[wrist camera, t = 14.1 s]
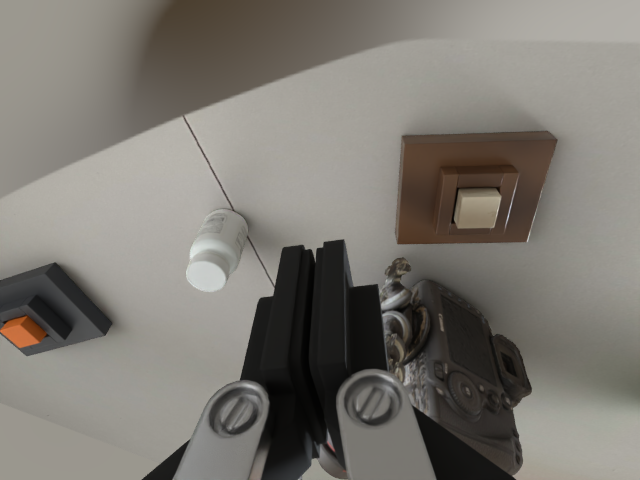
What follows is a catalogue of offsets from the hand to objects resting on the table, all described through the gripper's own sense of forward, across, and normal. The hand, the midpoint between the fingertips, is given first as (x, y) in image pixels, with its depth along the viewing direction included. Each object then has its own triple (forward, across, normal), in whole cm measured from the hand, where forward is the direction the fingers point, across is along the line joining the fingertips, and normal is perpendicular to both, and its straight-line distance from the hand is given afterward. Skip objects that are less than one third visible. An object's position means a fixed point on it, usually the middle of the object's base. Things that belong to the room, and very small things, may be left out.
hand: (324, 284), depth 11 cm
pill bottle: (+25, +13, +13) cm, 31 cm away
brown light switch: (+25, -10, +12) cm, 30 cm away
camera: (+25, -1, +32) cm, 41 cm away
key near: (+22, -10, +12) cm, 27 cm away
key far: (+22, +38, +20) cm, 48 cm away
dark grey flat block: (+25, +38, +20) cm, 50 cm away
